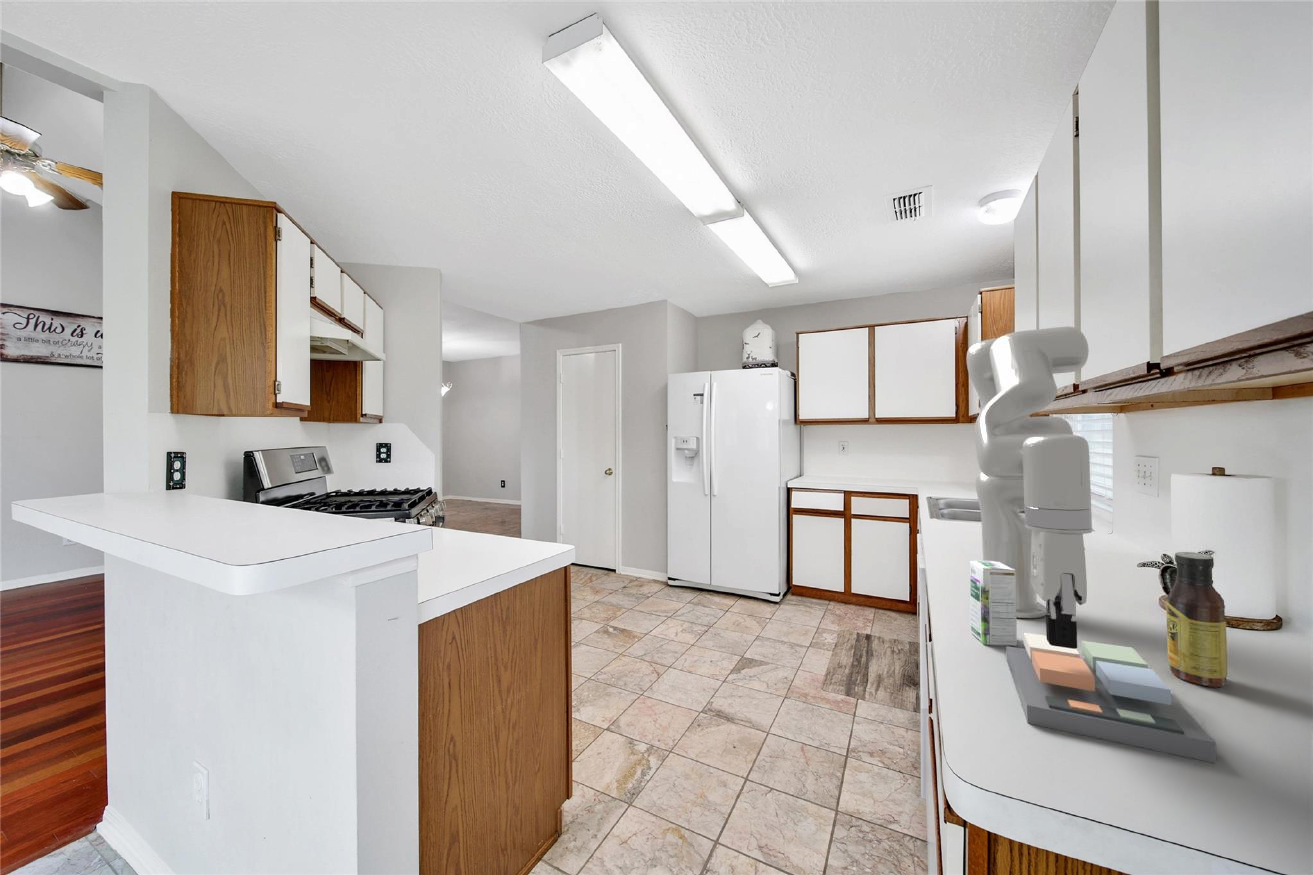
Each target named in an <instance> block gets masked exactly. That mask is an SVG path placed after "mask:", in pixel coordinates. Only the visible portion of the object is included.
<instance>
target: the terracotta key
mask: <svg viewBox="0 0 1313 875" xmlns="http://www.w3.org/2000/svg"><path fill="white" fill-rule="evenodd" d="M1082 658H1083V657H1080V658H1075V657H1069V656H1062V655H1056V654H1049V653H1043V652H1036V651H1032V664H1033V666H1034V669H1035V671H1036V673H1037V676H1038V678H1039V680H1040V682H1044V683H1050V684H1055V685H1061V686H1067V687H1072V688H1078V689H1084V690H1089V691H1095V677H1094V675H1093V674H1092V672H1091V671H1090V669H1089V668H1088V666H1087V665H1086V663H1085V662H1084V660H1083V659H1082Z"/></svg>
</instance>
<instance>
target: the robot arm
mask: <svg viewBox="0 0 1313 875" xmlns="http://www.w3.org/2000/svg"><path fill="white" fill-rule="evenodd" d="M1088 358H1089V344H1088V340H1087V337H1086V336H1085V335H1084V333H1083V332H1082V331H1081V330H1080V329H1078V328H1077V327H1074V326H1055V327H1048V328H1047V327H1046V328H1039V329H1030V330H1020V331H1013V332H1010V333H1006V334H1004V335H1002V336H999V337H997V338H992V339H991V338H990V339H985V340H982V341H978V342H976V343H974V344H972V345H971V346H970V347H969V348H968V350H967V352H966V367H967V371H968V375H969V379H970V380H971V382H972V385H973V386H974V389H975V390H976V393H977V395H978V398H979V404H980V405H979V406H980V412H979V414H978V416H977V418H976V420H975V423H974V424H975V425H974V443H975V450H976V458H977V462H978V467H979V468H980V472H978V474H977V475H976V478H975V490H976V496H977V500H978V504H979V513H980V518H981V519H980V520H981V536H982V537H981V538H982V542H981V543H982V561H995V562H1000V563H1002V564H1004V565H1006V566H1008V567H1010V568H1011V569H1015V571H1016V618H1019V619H1037V618H1041V617H1042V618H1043V617H1045V630H1046V631H1045V632H1046V633H1045V634H1046V635H1045V636H1046V637H1047V641H1048V642H1049V644H1050V645H1052V646H1058V647H1065V648H1072V649H1076V650H1077V649H1078V628H1077V623H1078V622H1077V604H1078V606H1082V605H1084V604H1086V603H1087V595H1088V594H1087V592H1088V589H1087V588H1088V587H1087V586H1088V582H1087V567H1086V554H1085V553H1086V552H1085V550H1086V548H1085V540H1084V535H1086V534H1091V533H1093V522H1092V494H1091V493H1092V492H1091V491H1092V489H1091V468H1090V461H1091V460H1090V447H1089V443H1088V441H1087V439H1086V438H1084V436H1083V437H1082V436H1081V435H1075V434H1074V431H1073V430H1072V426H1071V424H1070V423H1069V422H1068V421H1067V420H1066V419H1065V418H1062V417H1059V416H1031V415H1032V414H1035V413H1037V412H1040V411H1042V410H1043V409H1045V408H1047V407H1048V406H1050V405H1051V404H1052V403H1053V402H1054V401H1055V399H1056V397H1057V394H1058V386H1057V383H1056V380H1055V377H1054V374H1056V375H1057V374H1066V373H1074V372H1078V371H1080V370H1081V369H1082V368H1084V366H1085V365H1086V363H1087V361H1088ZM1021 511H1022V512H1023V511H1024V517H1023V516H1022V515H1020V513H1019V512H1021ZM1037 595H1038V596H1037ZM1037 597H1039V598H1040V599H1041V600H1042V601H1044V602H1045V604H1044V605H1043V603H1041V602H1039V601H1038V598H1037Z"/></svg>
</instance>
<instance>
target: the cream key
mask: <svg viewBox="0 0 1313 875" xmlns="http://www.w3.org/2000/svg"><path fill="white" fill-rule="evenodd" d="M1023 645H1024V649H1026V650H1027V653H1028V655H1029V657H1030V660H1032V651H1036V652H1043V653H1049V654H1056V655H1062V656H1069V657H1075V658H1081V657H1080V652H1079V651H1078V650H1077V648H1076V649H1072V648H1065V647H1058V646H1052V645H1050V644H1049V642H1048V641H1047V637H1046V635H1043V634H1038V633H1037V634H1036V633H1029V632H1023Z"/></svg>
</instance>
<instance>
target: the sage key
mask: <svg viewBox="0 0 1313 875" xmlns="http://www.w3.org/2000/svg"><path fill="white" fill-rule="evenodd" d="M1081 654H1082V656H1083V658H1085V659H1086V660H1087V661H1088V663H1089V664H1090V666H1091V667H1092V669H1093V670H1096V661H1101V662H1108V663H1114V664H1121V665H1127V666H1134V667H1140V668H1147V669H1148V668H1149V665H1148V663H1147V662H1146V661H1145V660H1144V659H1143V658H1142V657H1141V656H1140V654H1139V653H1138V652H1137V651H1136V650H1135V649H1134V648H1133V647H1130V646H1125V645H1124V646H1123V645H1115V644H1107V643H1103V642H1102V643H1101V642H1094V641H1085V640H1081Z"/></svg>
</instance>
